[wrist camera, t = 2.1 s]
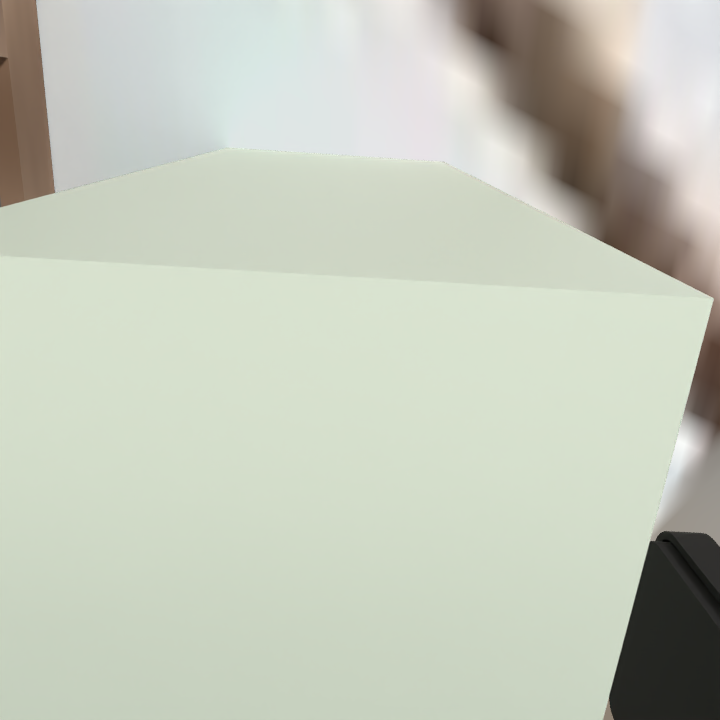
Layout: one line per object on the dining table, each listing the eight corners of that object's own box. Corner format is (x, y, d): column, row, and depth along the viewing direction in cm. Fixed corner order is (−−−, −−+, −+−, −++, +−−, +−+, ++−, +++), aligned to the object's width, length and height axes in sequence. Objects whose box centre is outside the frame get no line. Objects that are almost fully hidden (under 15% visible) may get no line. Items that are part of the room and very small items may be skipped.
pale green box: (227, 147, 15) (-150, 247, 4) (444, 162, 15) (713, 297, 4) (230, 517, 18) (40, 1146, 7) (405, 526, 19) (488, 1152, 7)
